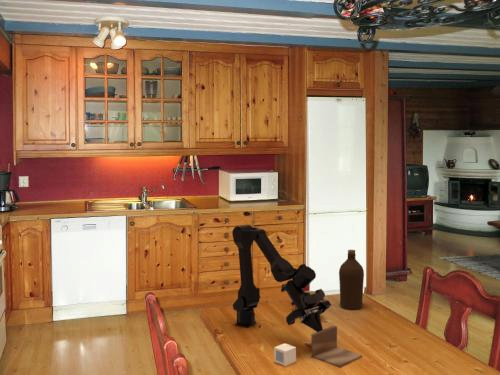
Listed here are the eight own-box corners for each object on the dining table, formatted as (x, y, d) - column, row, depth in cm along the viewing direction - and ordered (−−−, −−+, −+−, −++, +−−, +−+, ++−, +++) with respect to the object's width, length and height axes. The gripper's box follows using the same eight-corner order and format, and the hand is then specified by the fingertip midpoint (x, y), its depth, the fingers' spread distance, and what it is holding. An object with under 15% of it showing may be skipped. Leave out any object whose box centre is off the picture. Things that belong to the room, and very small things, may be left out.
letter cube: (274, 362, 180) (274, 347, 179) (284, 357, 183) (284, 343, 183) (285, 366, 176) (285, 351, 175) (295, 361, 179) (295, 347, 179)
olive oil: (347, 311, 230) (348, 253, 227) (334, 304, 239) (334, 249, 237) (368, 308, 234) (369, 251, 231) (354, 301, 243) (354, 246, 241)
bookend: (311, 357, 183) (311, 334, 182) (333, 347, 191) (333, 325, 191) (339, 367, 174) (339, 343, 174) (361, 357, 182) (362, 334, 182)
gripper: (291, 287, 183) (317, 327, 176) (327, 277, 195) (352, 314, 188) (275, 305, 189) (299, 344, 182) (310, 294, 202) (333, 330, 195)
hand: (321, 333), depth 187 cm, fingers closed
